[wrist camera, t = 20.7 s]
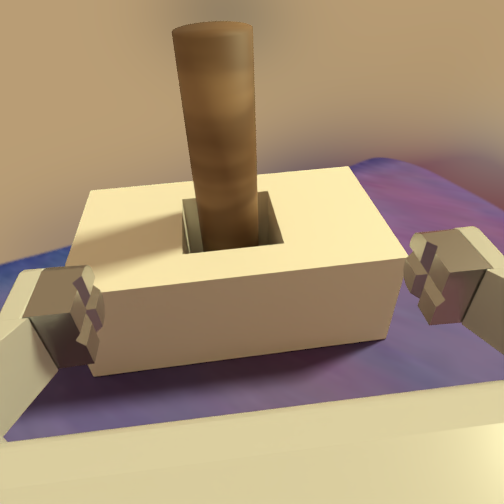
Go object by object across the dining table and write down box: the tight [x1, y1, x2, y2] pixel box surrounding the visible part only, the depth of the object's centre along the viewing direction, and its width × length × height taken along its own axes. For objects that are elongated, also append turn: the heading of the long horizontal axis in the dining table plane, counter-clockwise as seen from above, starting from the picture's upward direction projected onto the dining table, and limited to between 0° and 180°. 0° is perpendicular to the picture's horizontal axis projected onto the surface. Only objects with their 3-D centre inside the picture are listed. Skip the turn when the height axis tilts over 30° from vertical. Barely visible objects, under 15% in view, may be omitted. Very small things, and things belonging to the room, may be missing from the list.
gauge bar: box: [65, 166, 408, 377], centre depth 23 cm, size 9×16×6 cm, turn 97°
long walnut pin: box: [172, 21, 259, 252], centre depth 21 cm, size 3×3×15 cm
